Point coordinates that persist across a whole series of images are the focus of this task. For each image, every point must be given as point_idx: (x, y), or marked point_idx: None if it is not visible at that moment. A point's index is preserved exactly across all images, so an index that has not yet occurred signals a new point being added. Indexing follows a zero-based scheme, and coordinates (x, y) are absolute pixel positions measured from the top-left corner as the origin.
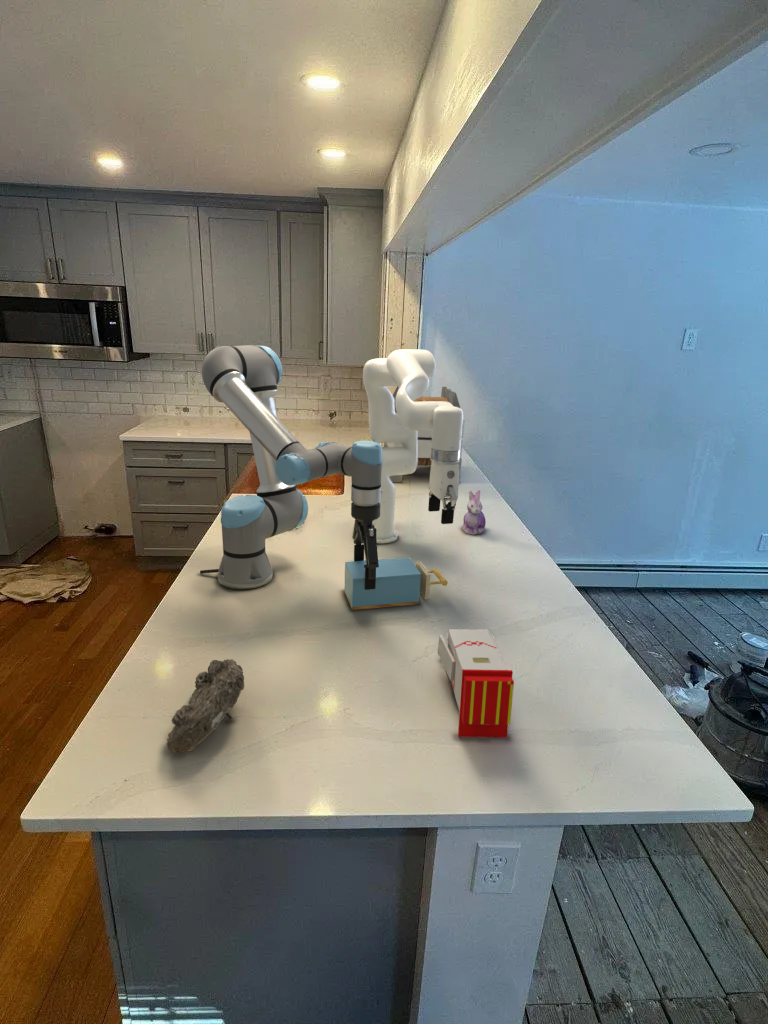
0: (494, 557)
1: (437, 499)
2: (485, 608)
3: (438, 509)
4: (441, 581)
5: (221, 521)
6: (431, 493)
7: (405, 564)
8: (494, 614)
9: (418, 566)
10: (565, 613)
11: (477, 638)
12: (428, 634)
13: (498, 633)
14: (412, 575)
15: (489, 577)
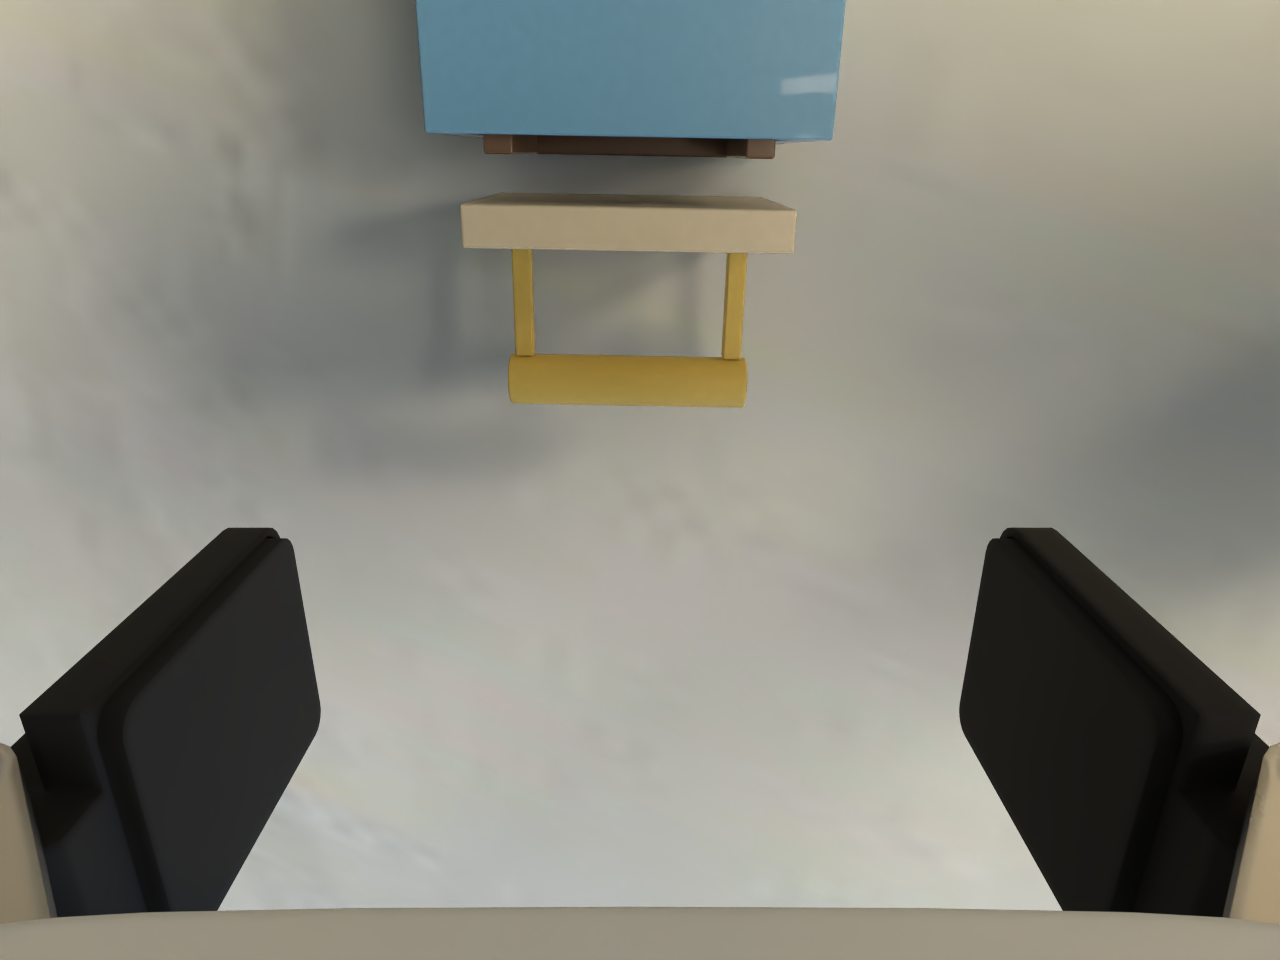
0: (1009, 862)
1: (1087, 867)
2: (382, 557)
3: (973, 721)
4: (530, 357)
5: None
6: (1256, 871)
7: (668, 30)
8: (307, 577)
9: (706, 206)
10: (299, 900)
11: None
12: (60, 59)
13: (92, 511)
14: (418, 30)
15: (761, 733)
